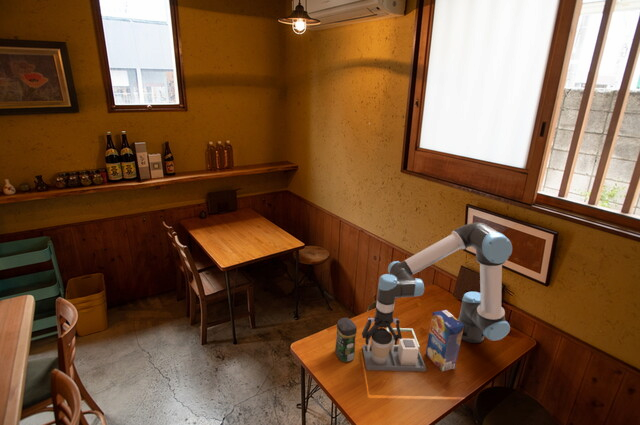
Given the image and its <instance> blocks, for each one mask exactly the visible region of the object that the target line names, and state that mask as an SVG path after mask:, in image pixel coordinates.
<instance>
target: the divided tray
mask: <svg viewBox="0 0 640 425" xmlns="http://www.w3.org/2000/svg"><path fill="white" fill-rule="evenodd" d="M418 349H419V351H418V357H417V363H416V366H415V365H401V364H400V361H399V358H398V354H397V353H398V346H394V352H392V351H391V346H390V351H389V355H388V358H387V362H386V363H385V364H382V365H379V364H376V363H374V362H373V360H372V344H370V351H369V352H368V350H367V345H366V344H362V353H363V358H364V364H365V365H364V366H365V370H366V371H387V372H388V371H394V372H395V371H396V372H398V371H399V372H426V371H427V367H426V364H425V362H424V359H423V357H422V356H423V355H422V354H421V351H420V348H418Z"/></svg>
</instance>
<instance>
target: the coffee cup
mask: <svg viewBox="0 0 640 425" xmlns="http://www.w3.org/2000/svg"><path fill="white" fill-rule="evenodd" d="M386 329H387V328H384V327H383V328H380V327H379V328H378V329H377V330H376V331H375V332H374V333H373V335H372V336H371V345H372V360H373V362H374V363H376V364H379V365H382V364H385V363H386V362H387V358H388V355H389V351H390V346H391V341H392V336H393V335H392V333H391V332H390V331H389V332H388V331H387V330H386Z"/></svg>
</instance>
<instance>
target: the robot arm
mask: <svg viewBox="0 0 640 425" xmlns="http://www.w3.org/2000/svg"><path fill="white" fill-rule="evenodd" d="M470 247H471V248H473V249H474V250H475V260H476V263H478V264H479V277H480V278H479V279H480V280H479V284H480V286H479V287H480V289H479V291H480V292H478V291H468V292H465V293H464V294H463V295H462V296H463V297H462V300H461V306H460V312H459V316H458V317H457V318H456V319H457V320H459V321H460V322H461V323H462V324H463V325H464V329H463V333H462V338H461V341H464V342H467V343H471V344H472V343H473V344H478V343H479V344H480V343H482V342H483V341H484V339H485V337H486V338H487V340H489V341H501V340H503V338H505V337H506V336H507V335H508V334H509V333H510V330H511V326H510V323H509V322H508V321H507V320H506V312H505V309H504V307H502V288H503V287H502V283H503V282H502V280H503V278H502V277H503V266H504V265H505V263H506V261H507V260H509V259H510V256H511V255H512V253H513V245H512V242H511V240H510V239H509V238H508V237H507V236H505V234H504V233H502V232H499V231H497V230H496V229H494V228H493V227H491V226H489V225H488V224H486V223H483V222H471V223H468V224H467V223H466V224H465V225H464V224H463V225H462V226H459V227H457V228H455V229H454V230H452V231H451V233H450V234H449V235H448V236H446V237H444V238H442V239H440V240H439V241H436V242H435V243H433V244H431V245H429V246H428V247H426V248H424V249H422V250H420V251H419V252H417V253H415V254H413V255H412V256H410V257H408V258H406V259H404V260H403V261H401V262H400V261H399V260H397V261H395V260H394V261H392V262H390V263H389V264H388V267H387V272H388V273H386V274H382V275H381V276H379V280H378V284H377V297H376V305H375V306H376V308H375V314H374V315H375V316H374V317H370V316H368V317H367V322H366V324H365V326H364V327H363V330H362V332H361V336H362V338H363V339H365V340H364V342H365V345H367V350H368V352H369V351H370V345H371V342H372V335H373V333H374V332H375V331H376V330H377V329H379V328H384V329H387V328H388V329H389V330H390V331H389V332H390V333H391V335H392V341H391V351H392V352H394V345H398V344H397V342H399V339H402V338H403V337H402V331H400V328H401V327H400V322H401V321H400V318H399V317H395V318H394V309H395V302H396V299H398V298H415V297H421V296H423V295H424V292H425V285H424V281H423V279H421V278H416V277H413V275H415V274H417V273H419V272H421V271H423V270H424V269H427V267H429V266H432V265H433V264H435V263H437V262H438V261H441V260H443V259H444V258H446V257H448V256H449V255H451V254H453V253H455V252H457V251H459V250H461V249H462V250H466V249H467V248H470ZM373 323H374V324H373ZM392 323H394V324H395V328H397V331H394V330H393V328H394V327H392ZM371 325H372V326H371ZM396 332H397V333H396Z"/></svg>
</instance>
